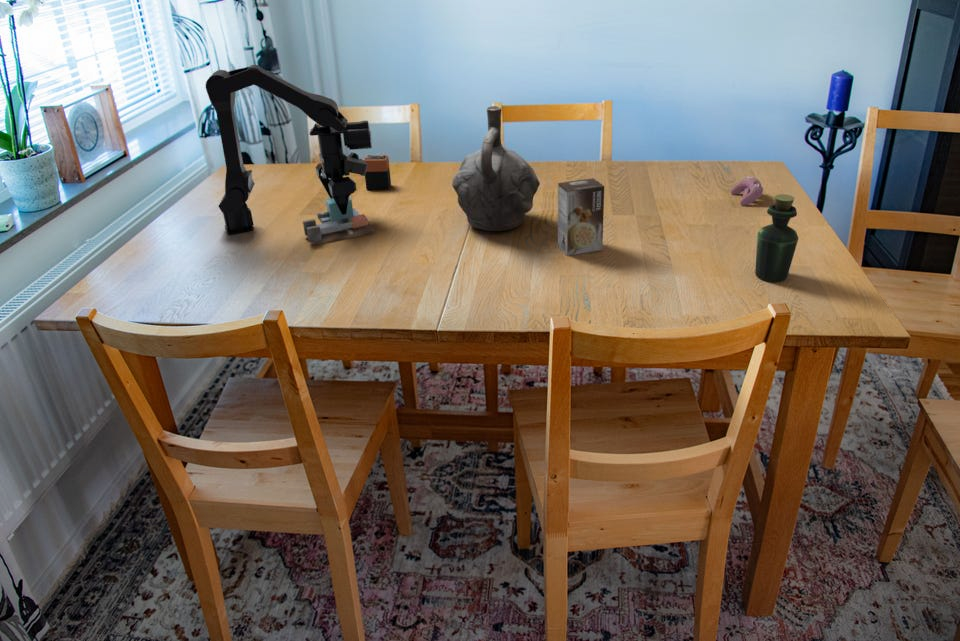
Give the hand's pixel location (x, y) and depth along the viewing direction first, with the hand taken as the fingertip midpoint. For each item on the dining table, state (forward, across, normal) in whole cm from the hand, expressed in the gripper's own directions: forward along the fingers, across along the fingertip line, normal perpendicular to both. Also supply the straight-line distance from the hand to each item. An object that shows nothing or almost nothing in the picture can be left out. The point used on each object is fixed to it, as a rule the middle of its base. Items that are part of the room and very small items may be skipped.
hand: (339, 208), depth 198 cm
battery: (+4, +20, -16) cm, 26 cm away
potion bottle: (+4, -77, -76) cm, 108 cm away
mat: (+4, 0, 0) cm, 4 cm away
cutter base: (+4, -9, +2) cm, 10 cm away
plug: (+2, 0, +1) cm, 3 cm away
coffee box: (+4, -45, -46) cm, 65 cm away
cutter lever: (+2, -9, +3) cm, 10 cm away
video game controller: (+4, -39, -101) cm, 109 cm away
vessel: (+4, -22, -34) cm, 41 cm away
